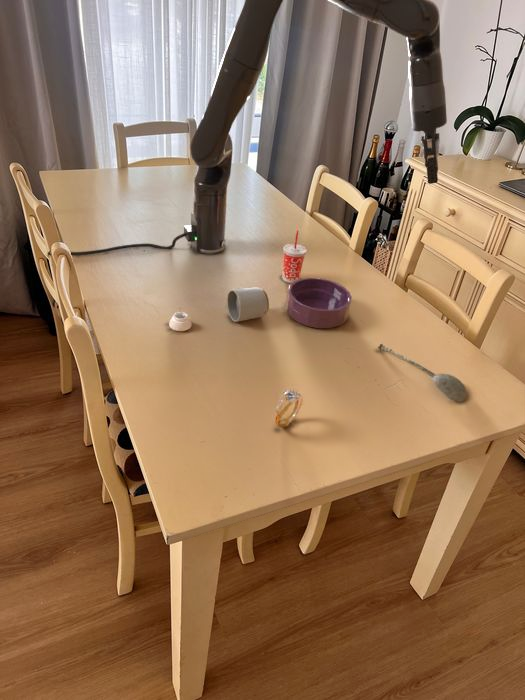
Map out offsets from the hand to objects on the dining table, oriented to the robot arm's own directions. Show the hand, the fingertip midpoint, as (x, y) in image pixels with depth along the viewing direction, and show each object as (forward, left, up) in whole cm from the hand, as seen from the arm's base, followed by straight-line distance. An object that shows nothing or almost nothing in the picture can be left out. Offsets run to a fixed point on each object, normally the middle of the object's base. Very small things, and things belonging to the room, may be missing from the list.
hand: (433, 177), depth 123 cm
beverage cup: (-27, +13, -31) cm, 44 cm away
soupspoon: (-17, -32, -31) cm, 48 cm away
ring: (-52, -37, -31) cm, 71 cm away
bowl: (-28, -4, -31) cm, 42 cm away
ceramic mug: (-46, 0, -31) cm, 56 cm away
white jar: (-62, -1, -31) cm, 70 cm away
